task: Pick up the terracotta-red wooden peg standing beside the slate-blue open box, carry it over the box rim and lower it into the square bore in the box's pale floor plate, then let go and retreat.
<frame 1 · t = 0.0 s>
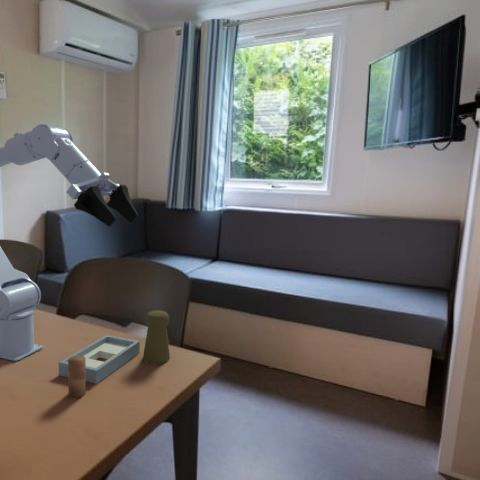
hand: (124, 220, 81), 32 cm above the table, tool tilted 50°, fingers open, 7 cm apart
box: (102, 363, 91), on the table
cork: (156, 359, 95), on the table
peg: (77, 394, 79), on the table
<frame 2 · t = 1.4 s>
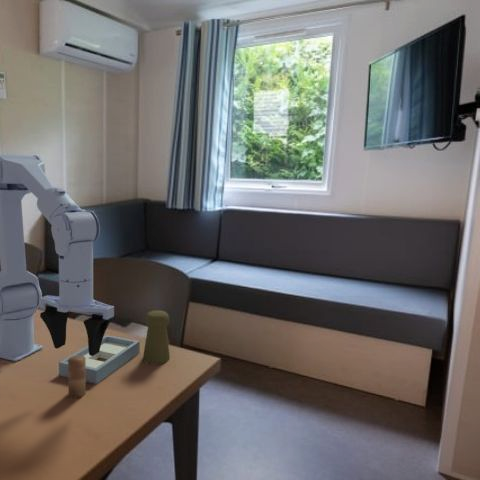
hand: (76, 349, 77), 9 cm above the table, tool pointing down, fingers open, 7 cm apart
nothing on the table moved.
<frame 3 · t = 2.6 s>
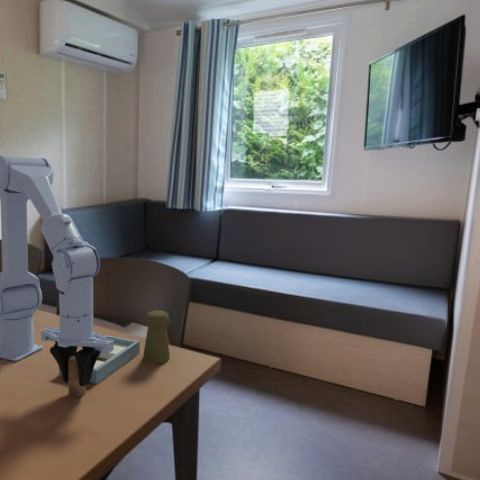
hand: (77, 381, 78), 2 cm above the table, tool pointing down, fingers closed on peg, 3 cm apart
peg: (77, 393, 79), on the table, touching gripper
everything else where it was.
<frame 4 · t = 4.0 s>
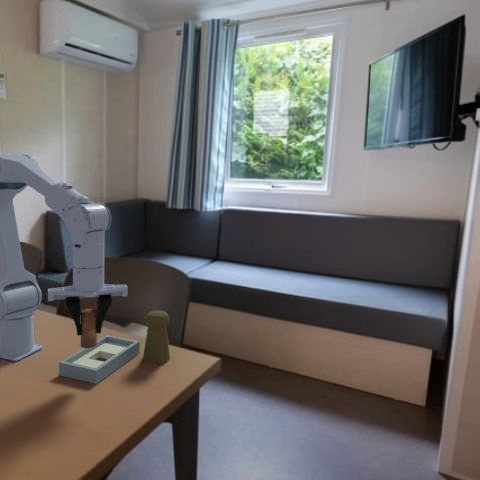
hand: (88, 332, 83), 10 cm above the table, tool pointing down, fingers closed on peg, 3 cm apart
peg: (88, 345, 83), point 7 cm above the table, touching gripper
everything else where it was.
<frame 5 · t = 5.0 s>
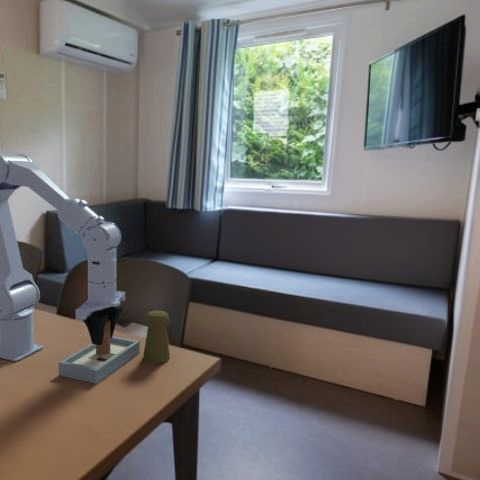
hand: (102, 340, 91), 5 cm above the table, tool pointing down, fingers closed on peg, 3 cm apart
peg: (103, 352, 91), point 3 cm above the table, touching gripper
everything else where it was.
when the fingers open (3 cm above the table, at t = 5.7 s): peg stays where it is, resting in box.
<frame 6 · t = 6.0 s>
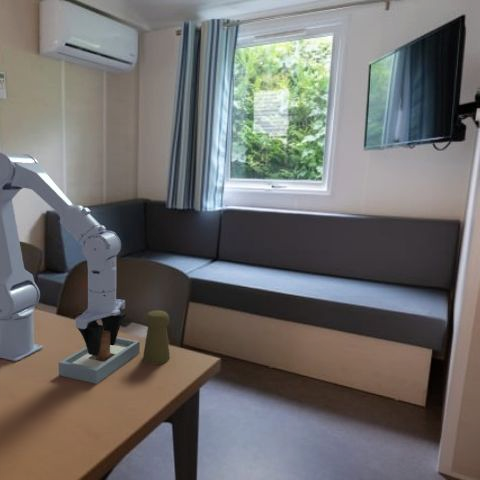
hand: (102, 349, 91), 3 cm above the table, tool pointing down, fingers open, 5 cm apart
peg: (102, 363, 91), resting in box
everything else where it was.
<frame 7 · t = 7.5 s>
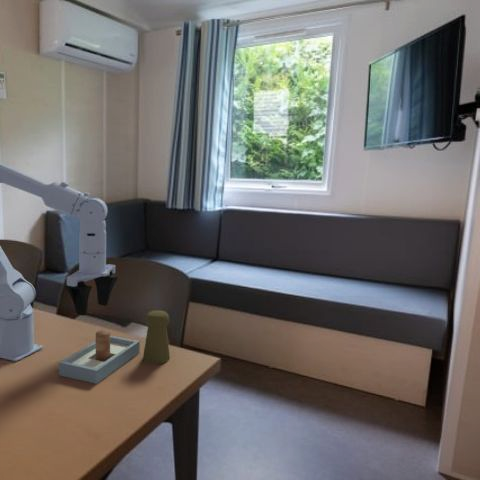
hand: (92, 309, 96), 10 cm above the table, tool pointing down, fingers open, 7 cm apart
nothing on the table moved.
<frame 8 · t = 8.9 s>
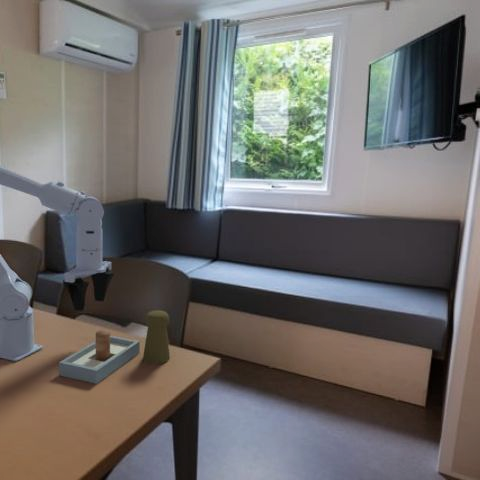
hand: (89, 305, 99), 10 cm above the table, tool pointing down, fingers open, 7 cm apart
nothing on the table moved.
at the end: peg 0.2 cm off-centre on the box, point 0.0 cm above the box's base; peg tilted 0°; the gripper is holding nothing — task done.
